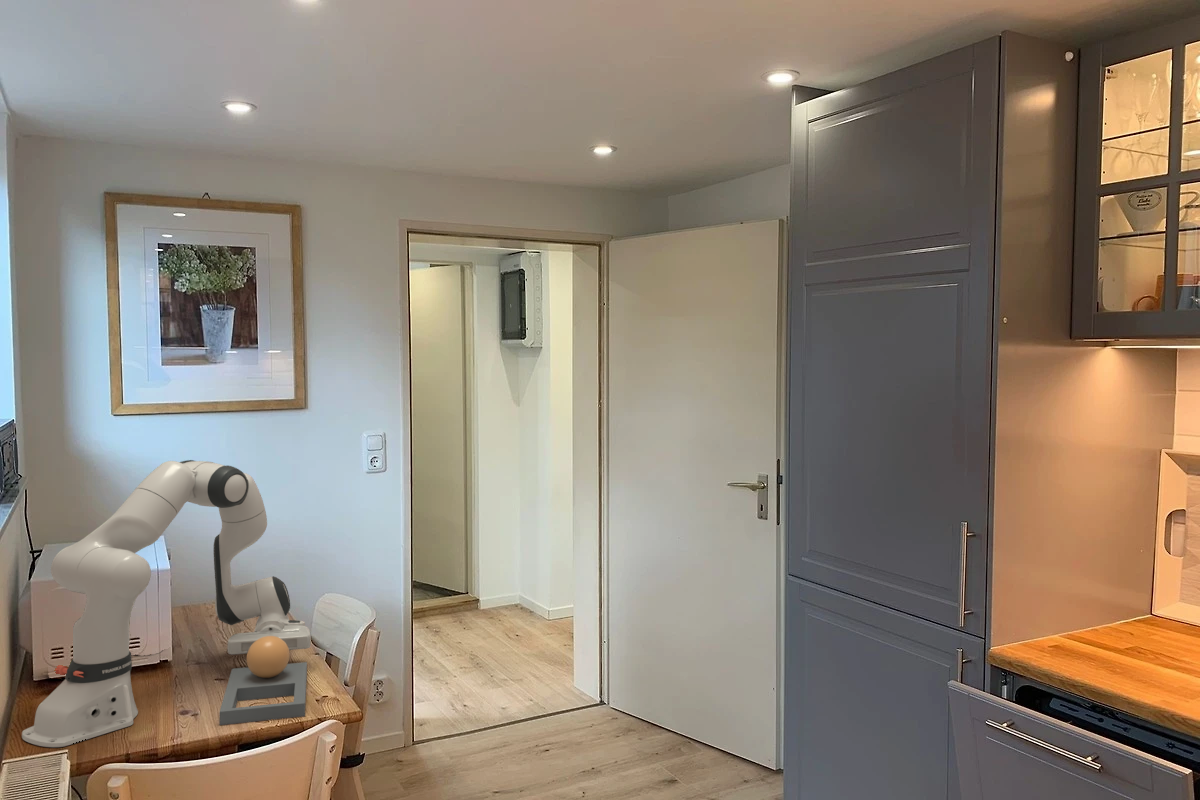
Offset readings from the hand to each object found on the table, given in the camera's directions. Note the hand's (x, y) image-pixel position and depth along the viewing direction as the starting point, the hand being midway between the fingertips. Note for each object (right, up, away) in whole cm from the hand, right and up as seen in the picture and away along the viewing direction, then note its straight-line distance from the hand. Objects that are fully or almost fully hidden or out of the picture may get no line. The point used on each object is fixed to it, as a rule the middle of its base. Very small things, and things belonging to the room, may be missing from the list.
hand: (268, 650), depth 221 cm
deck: (+3, -8, -10) cm, 14 cm away
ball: (+2, 0, -5) cm, 5 cm away
